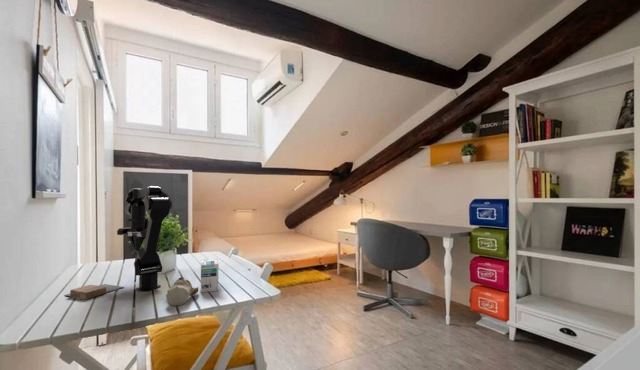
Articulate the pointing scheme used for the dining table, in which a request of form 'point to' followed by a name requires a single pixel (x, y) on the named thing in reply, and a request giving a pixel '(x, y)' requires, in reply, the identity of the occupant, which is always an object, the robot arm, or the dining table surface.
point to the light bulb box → (209, 275)
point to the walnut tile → (88, 291)
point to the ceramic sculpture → (180, 292)
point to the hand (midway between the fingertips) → (137, 251)
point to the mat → (108, 289)
